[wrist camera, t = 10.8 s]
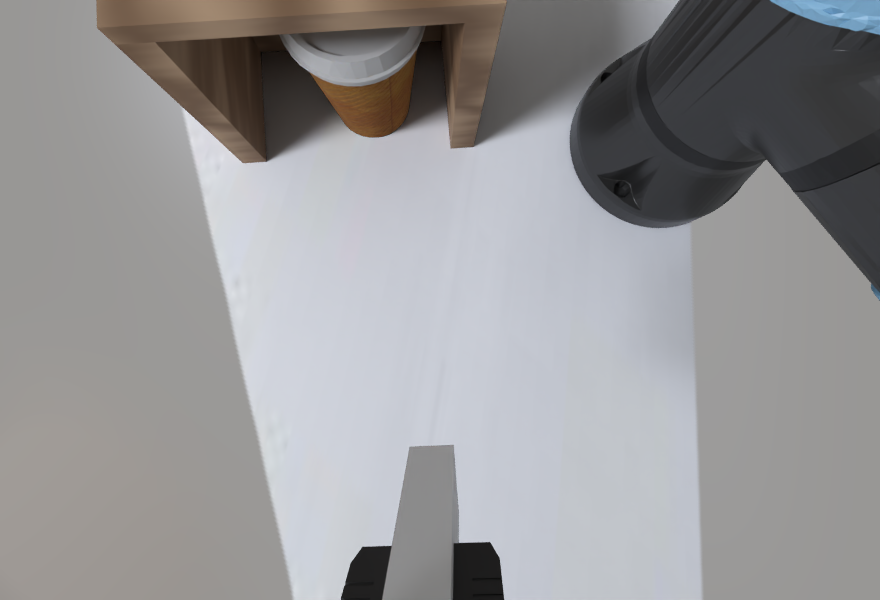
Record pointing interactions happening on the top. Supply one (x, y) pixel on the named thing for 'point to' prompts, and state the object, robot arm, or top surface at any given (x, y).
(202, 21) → the walnut shelf
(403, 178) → the top surface
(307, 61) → the disposable coffee cup
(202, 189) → the top surface
